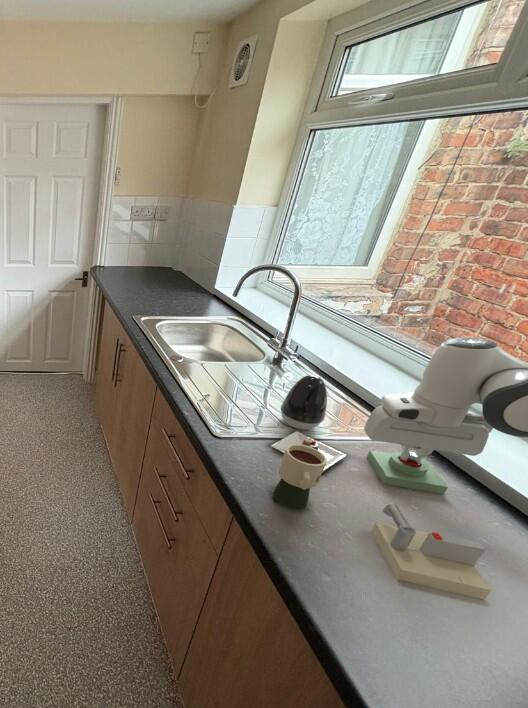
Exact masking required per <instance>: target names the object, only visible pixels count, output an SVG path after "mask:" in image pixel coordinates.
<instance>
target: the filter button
mask: <svg viewBox="0 0 528 708" xmlns="http://www.w3.org/2000/svg"><path fill="white" fill-rule="evenodd" d="M399 461H401V462H402V463H404V464H406V465H408V466H411V467H419V466H420V463H416V462H410V461H404V460H402V458H401V457H400V458H399Z"/></svg>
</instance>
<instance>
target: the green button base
mask: <svg viewBox="0 0 528 708" xmlns="http://www.w3.org/2000/svg"><path fill="white" fill-rule="evenodd" d="M401 454H402V452H401V451H396V452H393V453H390V452H384V451H378V450H372V449H370V450H369V451H368V453H367V455H366V458H367V460H368V461H369V463H370V465H371V466H372V468H373V470H374V471H375V473H376V474H377V477H378V478H379V479H380V481H381V482H382V484H384V485H389V486H394V487H399V488H405V489H409V490H410V489H411V490H415V491H416V490H417V491H423V492H428V493H434V494H439V495H445V494H446V491H447V490H448V488H449V486H448V485H447V484H446V482H445V481H444V480H443V479H442V477H440V475H439V474H438V472H436V470H435V469H434V468H433V467H432V466H431V464H430V463H429V461H428V460H427V459H426V458H422V459H421V461H420V466H419V467H411V466H408V465H406V464H404V463H402V462H401V461H399V458H400V457H401Z"/></svg>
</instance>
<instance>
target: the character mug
mask: <svg viewBox="0 0 528 708" xmlns="http://www.w3.org/2000/svg"><path fill="white" fill-rule="evenodd" d="M326 462H327V458H326V457H325V455H324V454H322V453H321V452H320V451H318V450H316V449H314V448H312V447H309V446H306V445H301V444H293V445H289V446H288V447H287V448H286V450H285V453H283V456H282V459H281V462H280V465H279V469H278V475H279V477H280V480H279V481H278V483H277V485H276V486H275V488H274V490H273V492H272V499H273V500H275V501H276V502H277V504H280V505H283V506H284V507H287V508H290V509H293V510H302V509H306V508H307V506H308V501H309V497H310V492H311V491H310V490H311V489H312V488H315V487H317V486H318V485H319V484H320V480H321V477H322V473H324V471H325V470H324V468H325V465H326Z"/></svg>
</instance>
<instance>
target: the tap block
mask: <svg viewBox="0 0 528 708" xmlns="http://www.w3.org/2000/svg"><path fill="white" fill-rule="evenodd" d="M397 530H398V527H397V526H396V525H392V524H386V523H382V522H375V523H374V525H373V527H372V529H371V533H372V535H373V538H374V540H375V541H376V543H377V545H378V547H379V549H380V551H381V553H382V555H383V557H384V559H385V560H386V562H387V564H388V566H389V568H390V570H391V572H392V574H393V576H394V578H395V579H396V580H399V581H402V582H407V583H412V584H415V585H420V586H423V587H428V588H432V589H437V590H441V591H445V592H449V593H454V594H458V595H462V596H467V597H471V598H474V599H475V598H476V599H479V600H486V598H487V597H488V595H489V594H490V593H491V592H492V589H491V587H490V586H489V585H488V583H487V582H486V580H485V579H484V578H483V576H482V575H481V573H480V572H479V570H478V569H477V568H476V567H475V565H474V566H473V565H468V564H464V563H459V562H455V561H450V560H445V559H441V558H436V557H431V556H427V555H424V554H423V552H422V550H421V549H420V547H421V546H422V544H423V542H424V541H425V539H426V537H427V536H428V534H429V533H432V531H428V532H426V531H421V530H415V529H414V530H415V531H416V534H415V535H414V537H413V539H412V541H411V542H410V544H409V546H408V547H407V549H406V551H398V550H396V549H394V548H393V547H392V546H391V544H390V542H391V541H392V539H393V537H394V535H395V533H396V532H397ZM476 565H479V566H484V567H489V565H488V564H487V563H483V562H478V561H477V563H476Z"/></svg>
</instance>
